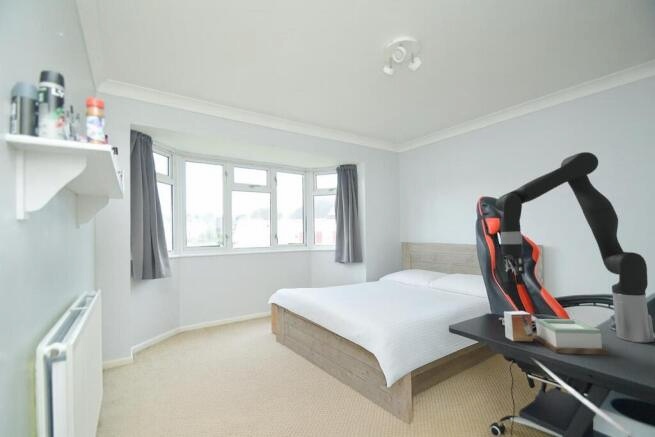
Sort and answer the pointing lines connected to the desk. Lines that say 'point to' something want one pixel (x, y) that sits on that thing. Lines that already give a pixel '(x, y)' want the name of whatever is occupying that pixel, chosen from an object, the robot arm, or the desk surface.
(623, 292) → the robot arm
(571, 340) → the base brick
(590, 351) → the build plate
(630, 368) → the desk surface
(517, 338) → the small box
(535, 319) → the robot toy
